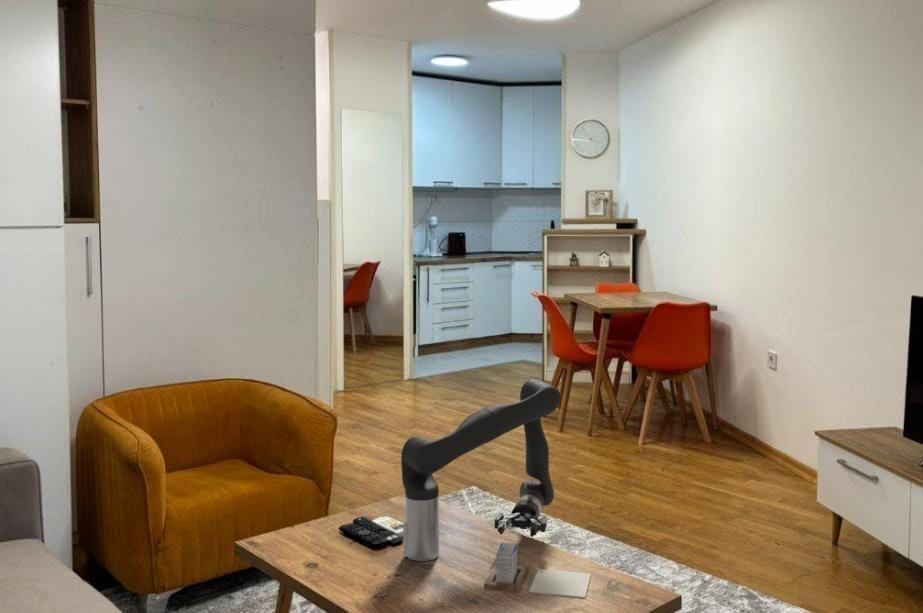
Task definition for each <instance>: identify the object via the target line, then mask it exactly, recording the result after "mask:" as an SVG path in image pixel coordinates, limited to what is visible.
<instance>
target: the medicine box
mask: <svg viewBox="0 0 923 613" xmlns="http://www.w3.org/2000/svg"><path fill="white" fill-rule="evenodd" d="M495 564H496V578H495V580H496V581H495V582H496V583H506V584H515V582H516V579H517V574H518V573H517V566H518V543H516V542H509V541H508V542H507V541H505V542H500V545H499V547H498V549H497V552H496V554H495Z"/></svg>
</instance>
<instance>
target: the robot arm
mask: <svg viewBox="0 0 923 613" xmlns="http://www.w3.org/2000/svg"><path fill="white" fill-rule="evenodd" d="M519 394H520V395H519V399H520V400H519V401H516V402H510V403H502V404H495V405H490V406H487V407H484V408H481V409H479V410H478V411H475V412H474V413H472V414H469V415H468V416H467V417H466V418H464V420H463V421H462V422H461V423H460V425H459V426H458V427H457V428H456V429H455V430H454V431H452V432H451V433H449V434H448V435H445V436H442V437H441V438H438V439H435V440H431V439H428V438H426V437H423V436H421V435H420V436H419V435H415V436H411V437H410V438H408V439H407V440H406V441H405V443H404V444H403V446H402V450H401V459H400V460H401V461H400V463H401V478H402V479H401V481H402V486H403V488H404V491H405V492H404V493H405V494H404V496H405V522H404V523H403V526H402V528H403V532H402V534H403V558H406V557H408V558H407V559H409V560H411V561H414V560H415V562H416V561H417V562H427V561H428V560H429V561H433V560H435V559H437V558H438V557H439V555H440V505H439V504H440V501H439V500H440V499H439V497H440V496H439V495H440V492H439V489H440V488H439V485H438V483H437V482H436V480H435V479H434V476H433V474H435V473H436V472H438V471H440V470H442V469H443V468H444V467H446V466H447V465H449V464H451V463H452V462H453V461H454V460H457V459H458V458H460V457H461V456H463V455H466V454H467V453H470V452H472V451H473V450H475V449H478V448H480V447H482V446H484V445H486V444H489V443H490V442H492V441H494V440H496V439H498V438H500V437H502V436H503V435H505V434H507V433H510V432H511V431H513V430H514V429H518V428H519V427H521V426H523V429H524V437H525V473H526V474H527V476H529V477H531V478H533V479H536V481H535V480H526V481H525V480H524V481H523V482H522V483H521V484H520V487H519V499H518V500H517V502H516V503H515V505H514V507H513V509H512V511H511V513H510V514H509V515H505V514H504V512H499V513H498V515H497V516H496V517H495V518H494V529H497V532H498V533H499V535H503V534H504V532H505V531H506V530H513V529H518V528H519V529H522V530H528V531H530V532H529V533H530V534H529V536H530V537H531V538H533V537H534V536H537V533H539V532H541V533H545V532H546V530H547V525H548V521H547V520H548V518H547V517H548V516H546V515H544V516H542V517H540V516H541V513H542V510H543V508H544V507H545V506H549V505H551V504H552V503H553V500H554V498H555V491H554V487H553V484H552V480H551V476H550V467H549V465H550V450H549V445H548V441H547V436H546V434H545V431H544V428H543V425H542V418H545V417H546V416H549V415H551V414H552V413H554V412H555V411H556V410H557V409H558V408H559V406H560V404H561V401H562V396H561V395H562V394H561V393H560V391H559V390H558V388H556V387H555V386H553V385H552V384H549V383H547V382H545V381H542V380H539V379H536V378H531V379H528V380H527V381H525V382H524V383H523V385H522V387H521V389H520V392H519ZM537 480H538V481H537ZM429 561H428V562H429Z"/></svg>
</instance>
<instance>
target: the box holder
mask: <svg viewBox="0 0 923 613" xmlns="http://www.w3.org/2000/svg"><path fill="white" fill-rule="evenodd" d="M517 574H518V576H517V577H516V579H515V581H514V584H506V583H496V581H495V580H496V563H494V565H493V567H492V568H491V571H490V572H489V574H488V576H487V578H486V580H485V581H484V585H483V587H484V589H487V590H497V591H504V592H505V591H506V592H507V591H508V592H514V593H515V592H516V593H520V591H521V588H522V586H523V584H524V582H525V579H526V577H527V576H528V575H527V574H529V567H528V566H521V565H517Z"/></svg>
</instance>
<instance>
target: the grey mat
mask: <svg viewBox="0 0 923 613" xmlns="http://www.w3.org/2000/svg"><path fill="white" fill-rule="evenodd" d="M591 578H592V573H583V572H576V571H575V572H574V571H565V570H554V569H545V568H538V569H537V571H536V573H535V575H534V578H533V581H532V583H531V585H530V587H529V590H528V593H531V594H541V595H548V596H549V595H550V596H559V597H561V596H562V597H569V598H570V597H571V598H578V599H586V596H587V592H588V589H589V584H590V582H589V581H591Z"/></svg>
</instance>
